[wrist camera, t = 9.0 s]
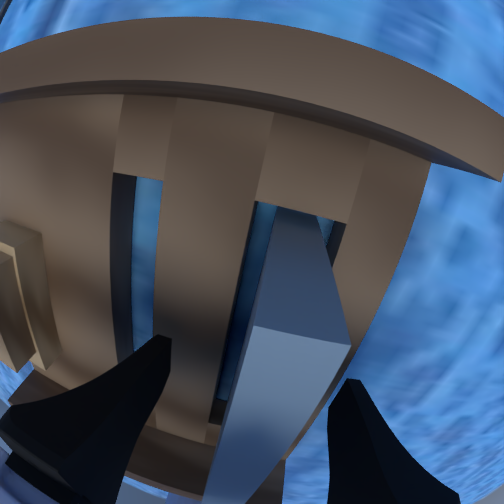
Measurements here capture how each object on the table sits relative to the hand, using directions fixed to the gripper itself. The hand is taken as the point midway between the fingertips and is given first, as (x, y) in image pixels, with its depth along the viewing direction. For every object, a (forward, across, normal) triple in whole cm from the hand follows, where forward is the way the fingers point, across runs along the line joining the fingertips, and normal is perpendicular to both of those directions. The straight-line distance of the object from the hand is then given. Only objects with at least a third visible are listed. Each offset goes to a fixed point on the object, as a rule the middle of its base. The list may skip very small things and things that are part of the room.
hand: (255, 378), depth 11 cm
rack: (+3, +6, 0) cm, 7 cm away
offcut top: (-1, +13, 0) cm, 13 cm away
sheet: (+3, 0, 0) cm, 3 cm away
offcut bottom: (+1, +13, +1) cm, 13 cm away
